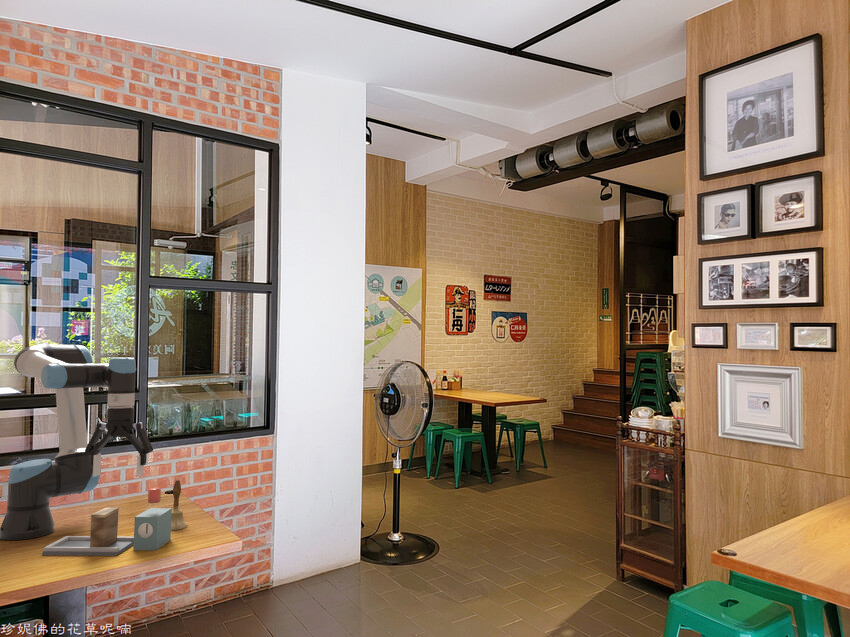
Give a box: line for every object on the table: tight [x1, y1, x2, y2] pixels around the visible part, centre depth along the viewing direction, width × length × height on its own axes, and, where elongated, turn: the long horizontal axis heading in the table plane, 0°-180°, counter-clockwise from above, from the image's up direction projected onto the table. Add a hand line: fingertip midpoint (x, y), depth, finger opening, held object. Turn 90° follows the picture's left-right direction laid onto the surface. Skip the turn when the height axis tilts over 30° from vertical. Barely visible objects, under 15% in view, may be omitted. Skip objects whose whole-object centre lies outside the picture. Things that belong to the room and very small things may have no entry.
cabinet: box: [133, 507, 173, 551], centre depth 181 cm, size 7×11×10 cm, turn 0°
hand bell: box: [171, 479, 189, 531], centre depth 201 cm, size 8×8×16 cm
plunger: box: [147, 487, 162, 504], centre depth 182 cm, size 4×4×4 cm
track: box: [41, 535, 134, 557], centre depth 177 cm, size 22×12×2 cm, turn 90°
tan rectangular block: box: [89, 506, 120, 547], centre depth 178 cm, size 4×8×10 cm, turn 0°
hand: (118, 476), depth 179 cm, fingers open, 13 cm apart
